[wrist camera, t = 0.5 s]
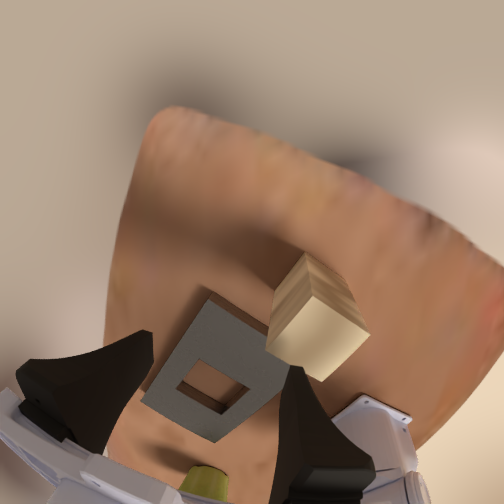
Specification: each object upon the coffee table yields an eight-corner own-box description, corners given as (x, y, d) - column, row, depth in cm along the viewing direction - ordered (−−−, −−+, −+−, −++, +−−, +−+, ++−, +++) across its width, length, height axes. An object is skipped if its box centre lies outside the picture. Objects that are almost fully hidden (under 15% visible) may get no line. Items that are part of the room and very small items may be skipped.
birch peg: (345, 280, 21) (370, 334, 13) (314, 317, 22) (321, 382, 14) (304, 251, 20) (312, 295, 13) (274, 291, 22) (265, 350, 14)
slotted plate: (309, 352, 23) (310, 362, 21) (217, 434, 28) (214, 443, 26) (213, 291, 22) (208, 298, 21) (145, 393, 27) (140, 401, 26)
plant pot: (178, 473, 33) (162, 511, 25) (183, 452, 30) (165, 497, 22) (231, 489, 33) (221, 528, 24) (246, 470, 30) (236, 518, 22)
